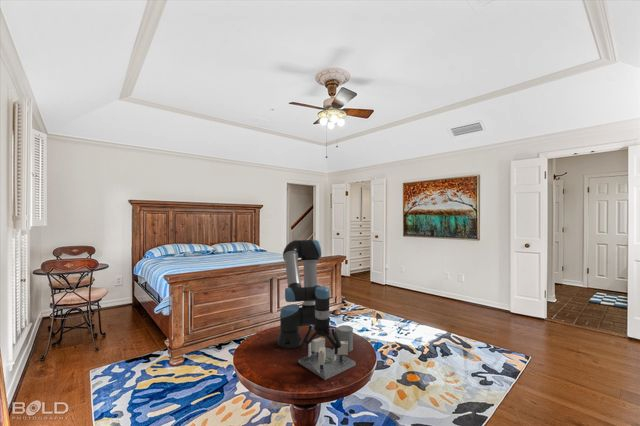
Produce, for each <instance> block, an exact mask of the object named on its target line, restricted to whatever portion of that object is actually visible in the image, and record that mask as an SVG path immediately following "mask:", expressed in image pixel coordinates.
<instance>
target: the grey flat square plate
mask: <svg viewBox="0 0 640 426" xmlns="http://www.w3.org/2000/svg"><path fill="white" fill-rule="evenodd" d="M297 363H298V364H300V365H301V366H303V367H305V368H306V369H307V370H309V371H311V372H312V373H314V374H315V375H317V376H318V377H320V378H321V379H323V380H325V381H326V380H328V379H330V378H332V377H334V376H337V375H338V374H341V373H343V372H344V371H347V370H348V369H349V370H350V369H351V368H352V367H355V366H356V365H357V364H356V361H355V360H353V359H351V358H349V357H347V355H343V359H342V360H340V359H339V355H336V360H335V362H334V361H333V348H330V347H326V359H325V363H324V368H320V365H318V356H317V352H316V353H315V352H313V353H311V356H310V357H308V355H306V356H303V357H300V358H298V362H297Z"/></svg>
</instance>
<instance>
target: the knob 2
mask: <svg viewBox="0 0 640 426" xmlns="http://www.w3.org/2000/svg"><path fill="white" fill-rule="evenodd" d="M335 342H336V341H335ZM340 342H341V347H340V348H338V353H337V355H339V359H340V360H342V359H343V355H344V356H348V354H349V352H348V341H340Z"/></svg>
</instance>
